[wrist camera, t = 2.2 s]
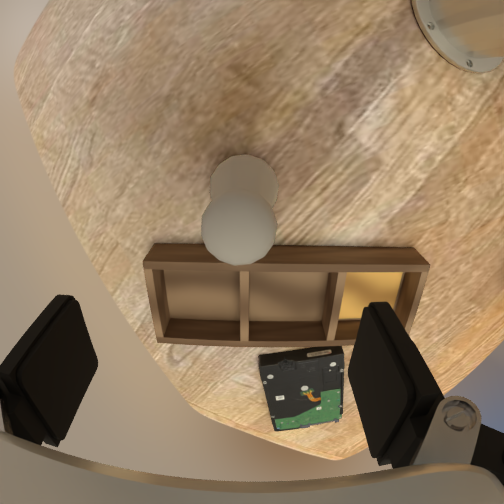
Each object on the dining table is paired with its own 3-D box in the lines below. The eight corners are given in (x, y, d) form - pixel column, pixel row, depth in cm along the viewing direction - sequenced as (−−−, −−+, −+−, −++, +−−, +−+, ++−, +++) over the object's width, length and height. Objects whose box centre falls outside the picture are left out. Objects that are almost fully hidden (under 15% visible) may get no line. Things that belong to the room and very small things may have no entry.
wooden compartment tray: (154, 243, 31) (142, 261, 28) (413, 247, 31) (430, 264, 28) (166, 322, 36) (157, 344, 32) (394, 322, 35) (405, 343, 32)
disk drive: (256, 351, 38) (273, 419, 44) (256, 367, 36) (274, 433, 42) (339, 338, 37) (340, 408, 43) (344, 353, 35) (344, 422, 41)
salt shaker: (217, 214, 30) (193, 286, 18) (209, 155, 28) (174, 190, 16) (279, 208, 30) (294, 278, 18) (274, 148, 27) (288, 177, 16)
